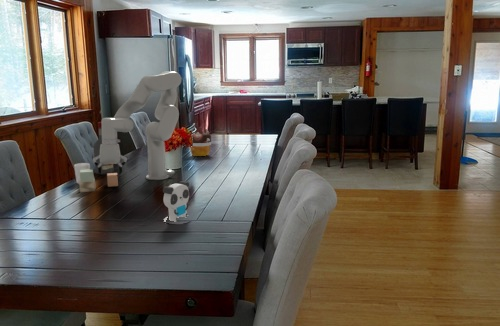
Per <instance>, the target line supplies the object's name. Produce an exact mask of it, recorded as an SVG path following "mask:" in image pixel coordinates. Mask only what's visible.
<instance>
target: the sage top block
mask: <svg viewBox="0 0 500 326" xmlns="http://www.w3.org/2000/svg"><path fill="white" fill-rule="evenodd" d="M94 178H95V176H94V169H93V168H90V169H87V170H80V180H81V182H91V181H94Z"/></svg>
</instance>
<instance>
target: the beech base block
mask: <svg viewBox="0 0 500 326" xmlns="http://www.w3.org/2000/svg"><path fill="white" fill-rule="evenodd" d="M78 185H79V192H80V193H86V192H87V193H88V192H95V191H96V179H95V177H94V181H91V182H81V180H80V182H79V184H78Z"/></svg>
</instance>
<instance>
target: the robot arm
mask: <svg viewBox="0 0 500 326" xmlns="http://www.w3.org/2000/svg"><path fill="white" fill-rule="evenodd" d="M181 83H182V76H181V75H180V73H179V72H176V71H162V72H159V74H157V75H153V74H152V75H150V74H149V75H144V76H143V77H142V78H141V79H140V80H139V82H138V84H137V85H136V87H135V89H134V91H133V92H132V94H131V95H130V96H129V98H128V99H127V100H126V101H125V102H124V103H123V104H122V105H121V106H120V107H119V108H118V109H117V111H116V113H115V115H114V116H113V117H103V118H102V119H101V121H100V122H101V123H102V144H101V145H100V155H99V156H97V157H95V158H94V157H93V158H92V162H93V164H94V166H95V165H96V166H97V167H98V173H100V174H99V176H102V174H101V165H102V164H113V165H114V164H115V165H116V164H117V165H118V171H119V172H118V174H119V176H120V175H121V174H122V173H123V166H125V164H126V163H127V160H128V157H126V156H123V155H122V154H121V149H120V144H119V143H121V139H118V132H122V133H128V132H131V131H132V130H133V129H134V122H133V120H132V119H130V117H131V116H132V115H133V114H134V113H135V112H137V111H139V110H141V109H142V108H144V107H145V106H146V104H147V102H148V101H149V99H150V98H151V96H152V95H153V92H154V93H157V92H161V95H160V98H159V101H158V103H157V105H156V108H155V111H154V118H156V120H158V121H152V122H151V121H150V122H149V123H147V124H146V127H145V130H144V131H145V137H146V145H147V165H148V166H147V167H148V174H147V175H146V177H145V178H146V180H149V181H163V180H166V179H168V178H169V177H170V175H174V174H175V170H172V169H169V170H167V167H166V143H165V141H168V140H169V139H170V138H171V137H172V135H173V133H174V131H175V128H176V126H177V123H178V120H179V118H180V117H179V116H180V112H179V109H178V108H177V106H175V105H176V102H177V98H178V95H177V88H178V87H179V86H180V85H181ZM99 158H100V163H99V164H98V163H97V162H96V160H97V159H99ZM121 160H123V161H122V162H121Z"/></svg>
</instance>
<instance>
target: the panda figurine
mask: <svg viewBox="0 0 500 326" xmlns="http://www.w3.org/2000/svg"><path fill="white" fill-rule="evenodd" d="M189 186H190V183H189V182H188V181H183V180H181V181H179V183H173V184H170V185H168V186H166V185H165V186H163V187H162V193H164V194H163V199H162V200H163V204H164V206H165V207H167V208H168V209H167V210H168V216H169V220H170V221H174V222H177V218H179V217H185V218H187V216H188V212H187V210H188V208H189V204H188V202H189V198H190V192H189V191H190V190H189ZM168 216H166V217H165V218H163V220H164V221H163V222H166V220H167V218H168Z"/></svg>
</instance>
